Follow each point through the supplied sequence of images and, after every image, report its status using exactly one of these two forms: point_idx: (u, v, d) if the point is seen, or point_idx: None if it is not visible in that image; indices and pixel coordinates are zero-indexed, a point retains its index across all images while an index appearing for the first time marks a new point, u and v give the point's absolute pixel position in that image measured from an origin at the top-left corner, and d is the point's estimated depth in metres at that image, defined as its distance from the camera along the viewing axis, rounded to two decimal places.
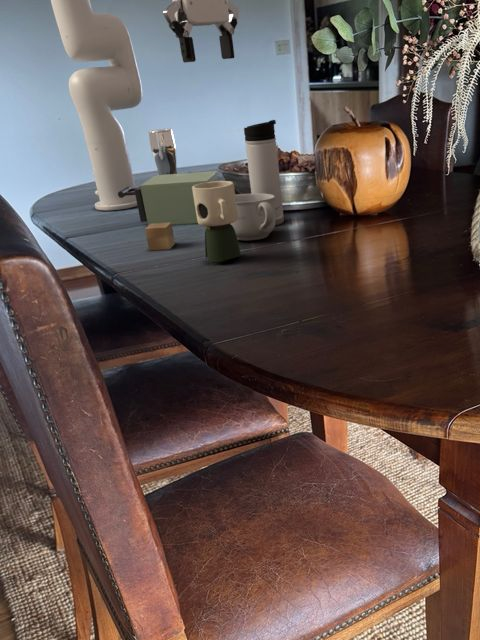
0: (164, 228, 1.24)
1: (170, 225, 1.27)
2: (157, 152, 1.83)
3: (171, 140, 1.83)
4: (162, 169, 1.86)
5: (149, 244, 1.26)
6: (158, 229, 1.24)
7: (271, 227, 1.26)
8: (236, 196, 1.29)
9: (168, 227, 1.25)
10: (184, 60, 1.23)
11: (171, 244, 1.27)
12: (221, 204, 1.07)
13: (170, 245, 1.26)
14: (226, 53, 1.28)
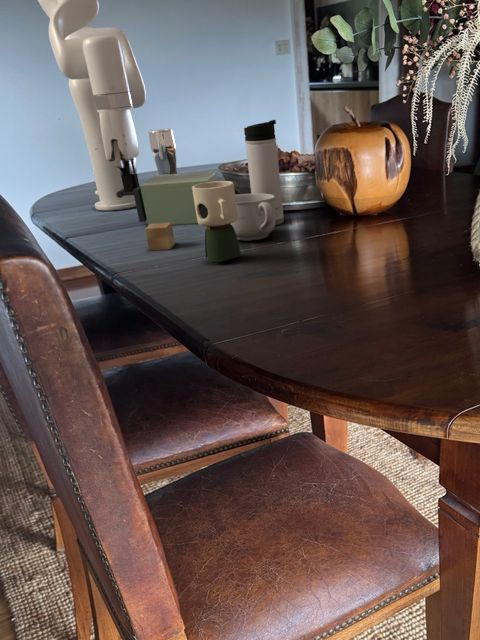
0: (164, 228, 1.24)
1: (170, 225, 1.27)
2: (157, 152, 1.83)
3: (171, 140, 1.83)
4: (162, 169, 1.86)
5: (149, 244, 1.26)
6: (158, 229, 1.24)
7: (271, 227, 1.26)
8: (236, 196, 1.29)
9: (168, 227, 1.25)
10: None
11: (171, 244, 1.27)
12: (221, 204, 1.07)
13: (170, 245, 1.26)
14: None
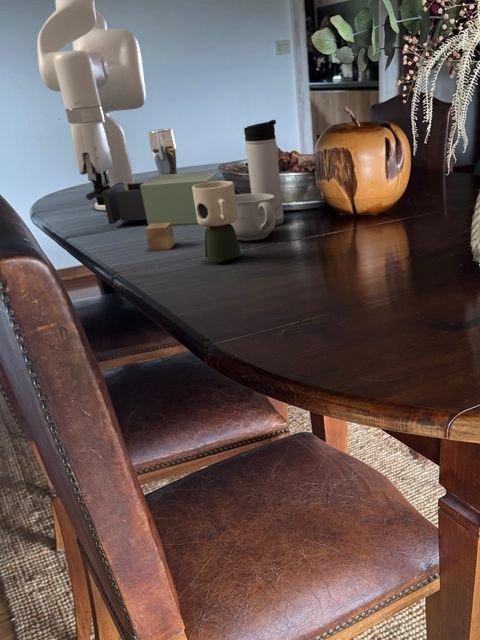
0: (164, 228, 1.24)
1: (170, 225, 1.27)
2: (157, 152, 1.83)
3: (171, 140, 1.83)
4: (162, 169, 1.86)
5: (149, 244, 1.26)
6: (158, 229, 1.24)
7: (271, 227, 1.26)
8: (236, 196, 1.29)
9: (168, 227, 1.25)
10: (99, 203, 1.48)
11: (171, 244, 1.27)
12: (221, 204, 1.07)
13: (170, 245, 1.26)
14: None
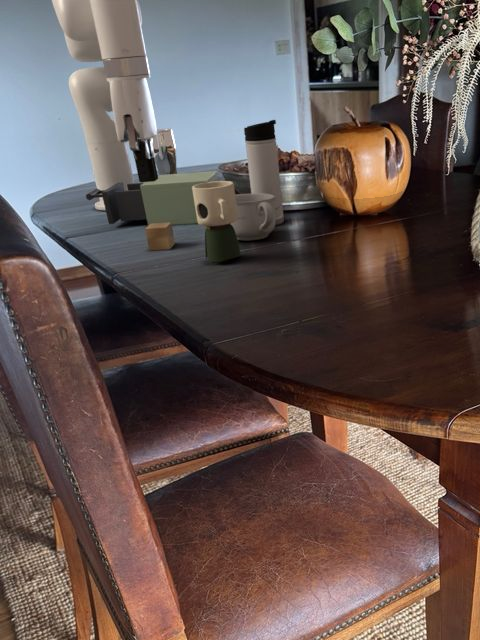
0: (164, 228, 1.24)
1: (170, 225, 1.27)
2: (157, 152, 1.83)
3: (171, 140, 1.83)
4: (162, 169, 1.86)
5: (149, 244, 1.26)
6: (158, 229, 1.24)
7: (271, 227, 1.26)
8: (236, 196, 1.29)
9: (168, 227, 1.25)
10: (141, 180, 1.21)
11: (171, 244, 1.27)
12: (221, 204, 1.07)
13: (170, 245, 1.26)
14: None
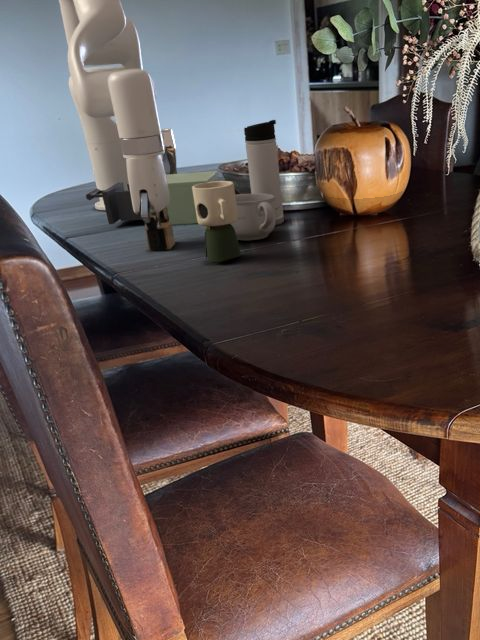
0: (164, 228, 1.24)
1: (170, 225, 1.27)
2: None
3: (171, 140, 1.83)
4: None
5: None
6: None
7: (271, 227, 1.26)
8: (236, 196, 1.29)
9: (168, 227, 1.25)
10: (152, 248, 1.25)
11: (171, 244, 1.27)
12: (221, 204, 1.07)
13: (170, 245, 1.26)
14: None
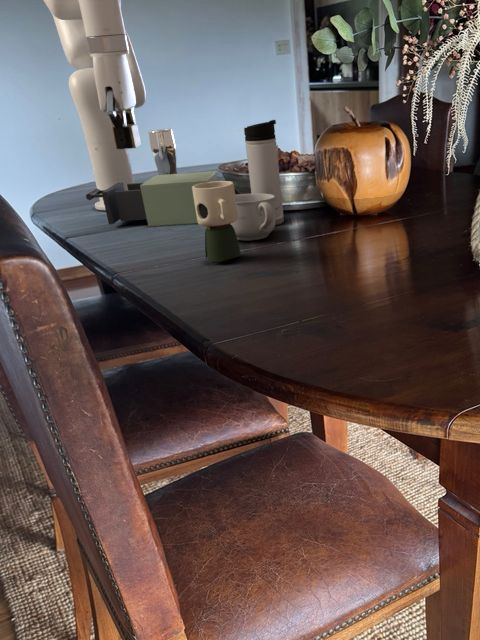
0: (130, 127, 1.33)
1: (136, 126, 1.36)
2: (157, 152, 1.83)
3: (171, 140, 1.83)
4: (162, 169, 1.86)
5: None
6: None
7: (271, 227, 1.26)
8: (236, 196, 1.29)
9: (134, 127, 1.34)
10: (119, 147, 1.34)
11: (137, 144, 1.36)
12: (221, 204, 1.07)
13: (136, 144, 1.35)
14: None
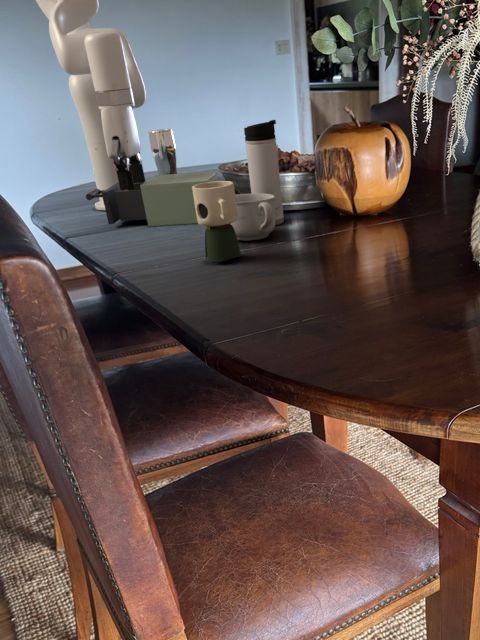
0: None
1: None
2: (157, 152, 1.83)
3: (171, 140, 1.83)
4: (162, 169, 1.86)
5: None
6: None
7: (271, 227, 1.26)
8: (236, 196, 1.29)
9: None
10: (122, 188, 1.43)
11: None
12: (221, 204, 1.07)
13: None
14: (137, 178, 1.50)
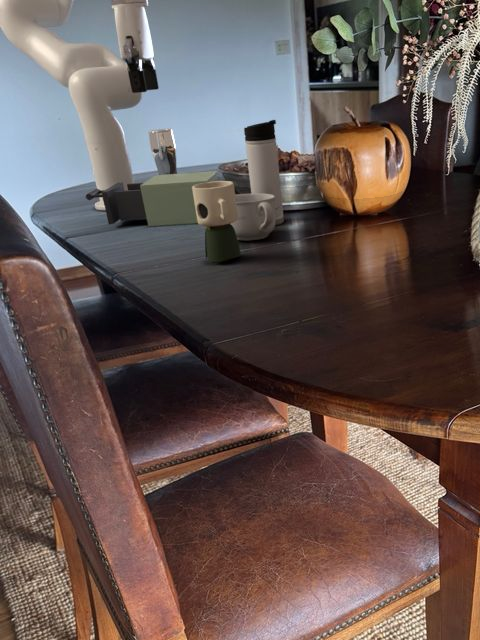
0: None
1: None
2: (157, 152, 1.83)
3: (171, 140, 1.83)
4: (162, 169, 1.86)
5: None
6: None
7: (271, 227, 1.26)
8: (236, 196, 1.29)
9: None
10: (134, 91, 1.39)
11: None
12: (221, 204, 1.07)
13: None
14: (151, 85, 1.47)
